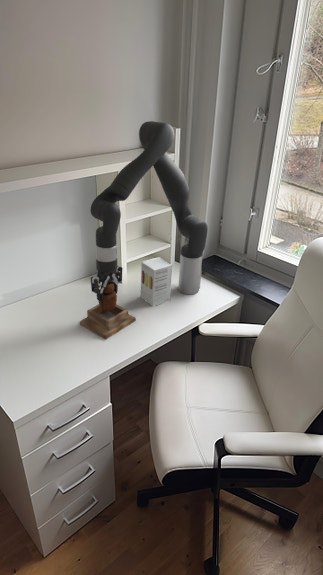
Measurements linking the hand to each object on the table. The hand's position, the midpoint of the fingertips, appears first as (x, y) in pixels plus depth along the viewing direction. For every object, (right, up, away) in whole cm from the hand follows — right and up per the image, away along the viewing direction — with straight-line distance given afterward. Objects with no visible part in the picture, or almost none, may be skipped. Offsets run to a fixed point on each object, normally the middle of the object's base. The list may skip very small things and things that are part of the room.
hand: (107, 297), depth 152 cm
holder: (-1, -10, +5) cm, 11 cm away
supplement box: (+17, -1, +23) cm, 29 cm away
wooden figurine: (0, -5, +3) cm, 5 cm away
